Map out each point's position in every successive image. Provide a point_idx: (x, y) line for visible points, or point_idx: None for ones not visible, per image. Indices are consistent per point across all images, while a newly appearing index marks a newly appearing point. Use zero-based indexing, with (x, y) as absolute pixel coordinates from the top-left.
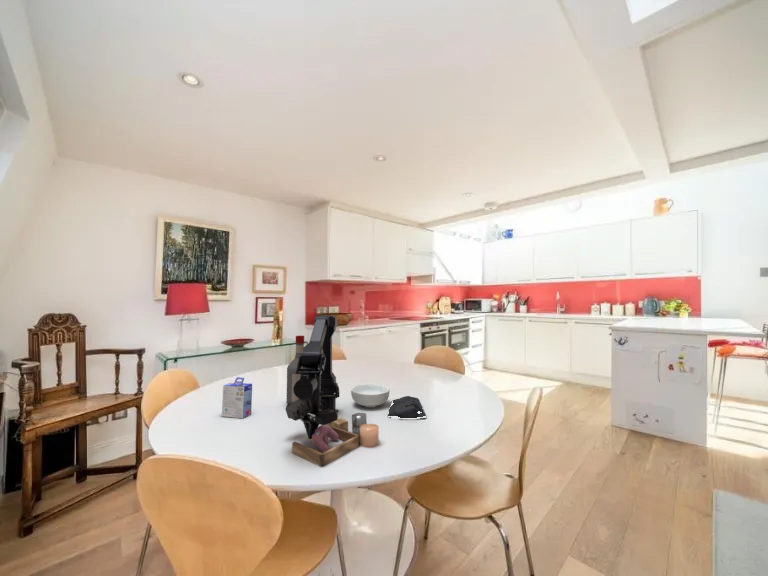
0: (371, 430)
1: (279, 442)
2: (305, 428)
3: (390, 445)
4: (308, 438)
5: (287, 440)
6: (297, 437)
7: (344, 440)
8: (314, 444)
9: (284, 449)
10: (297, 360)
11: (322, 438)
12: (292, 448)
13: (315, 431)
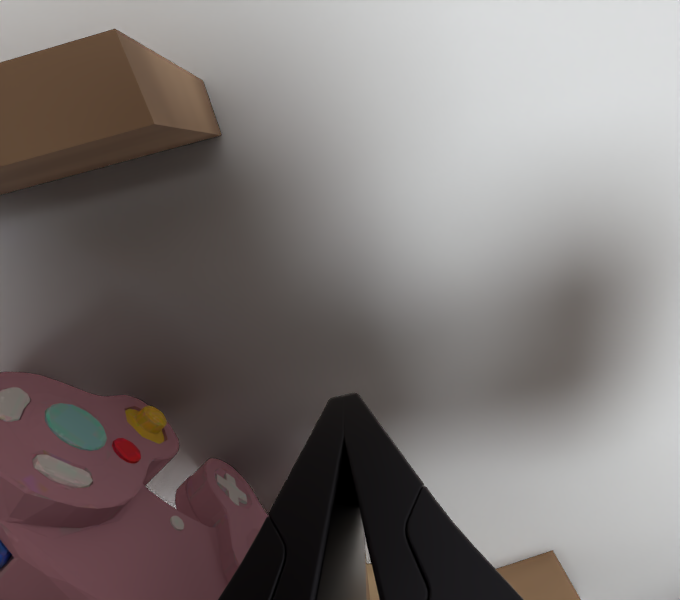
0: None
1: (654, 72)
2: (421, 488)
3: None
4: (358, 394)
5: (603, 199)
6: (564, 327)
7: None
8: (13, 375)
9: (388, 31)
10: None
11: (207, 496)
12: (169, 67)
13: (12, 580)
